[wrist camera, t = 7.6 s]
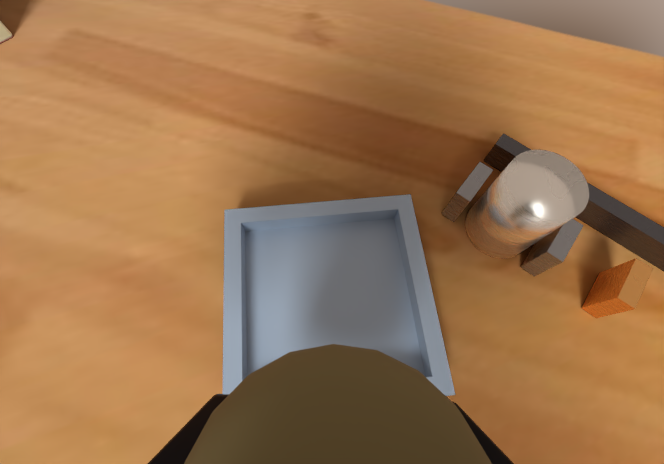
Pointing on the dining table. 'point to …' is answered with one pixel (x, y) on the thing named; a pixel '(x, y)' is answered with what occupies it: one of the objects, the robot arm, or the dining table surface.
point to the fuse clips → (555, 221)
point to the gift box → (4, 33)
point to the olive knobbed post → (336, 415)
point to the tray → (328, 285)
